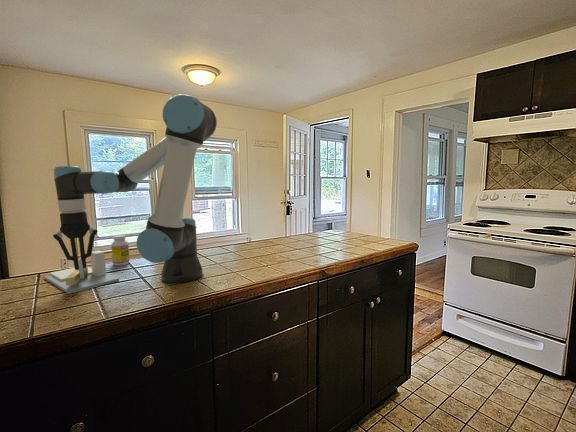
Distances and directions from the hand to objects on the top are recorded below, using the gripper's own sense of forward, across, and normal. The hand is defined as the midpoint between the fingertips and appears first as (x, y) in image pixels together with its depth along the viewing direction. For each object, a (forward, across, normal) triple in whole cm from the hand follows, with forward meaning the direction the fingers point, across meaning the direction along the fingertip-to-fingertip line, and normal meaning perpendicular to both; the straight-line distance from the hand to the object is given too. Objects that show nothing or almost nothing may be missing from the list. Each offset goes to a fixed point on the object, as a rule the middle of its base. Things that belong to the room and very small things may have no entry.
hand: (81, 277), depth 106 cm
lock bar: (+1, +1, -3) cm, 3 cm away
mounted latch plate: (+3, 0, -9) cm, 10 cm away
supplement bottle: (+4, -16, -23) cm, 28 cm away
